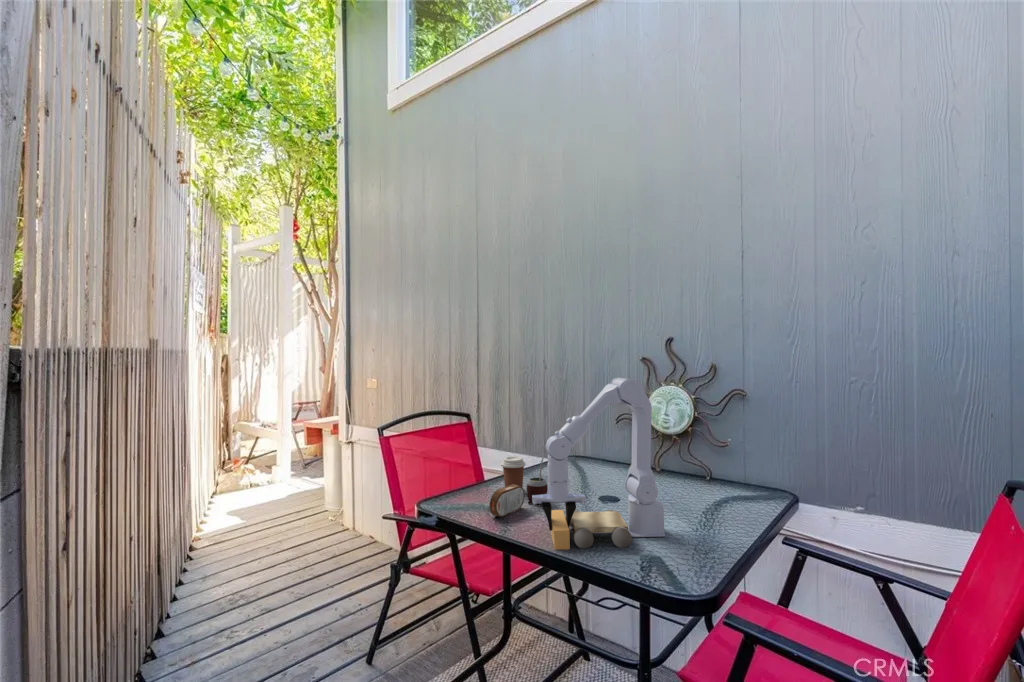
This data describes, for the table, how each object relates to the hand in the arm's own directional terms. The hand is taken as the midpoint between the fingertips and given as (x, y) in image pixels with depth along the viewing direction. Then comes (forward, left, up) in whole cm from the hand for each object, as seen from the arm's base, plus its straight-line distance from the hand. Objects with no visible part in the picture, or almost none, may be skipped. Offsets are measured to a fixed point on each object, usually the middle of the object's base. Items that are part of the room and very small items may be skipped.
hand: (559, 529), depth 135 cm
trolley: (-11, 0, -2) cm, 11 cm away
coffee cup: (+12, -45, -3) cm, 47 cm away
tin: (+14, -21, -3) cm, 25 cm away
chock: (0, 0, -2) cm, 3 cm away
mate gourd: (+4, -31, -3) cm, 31 cm away
